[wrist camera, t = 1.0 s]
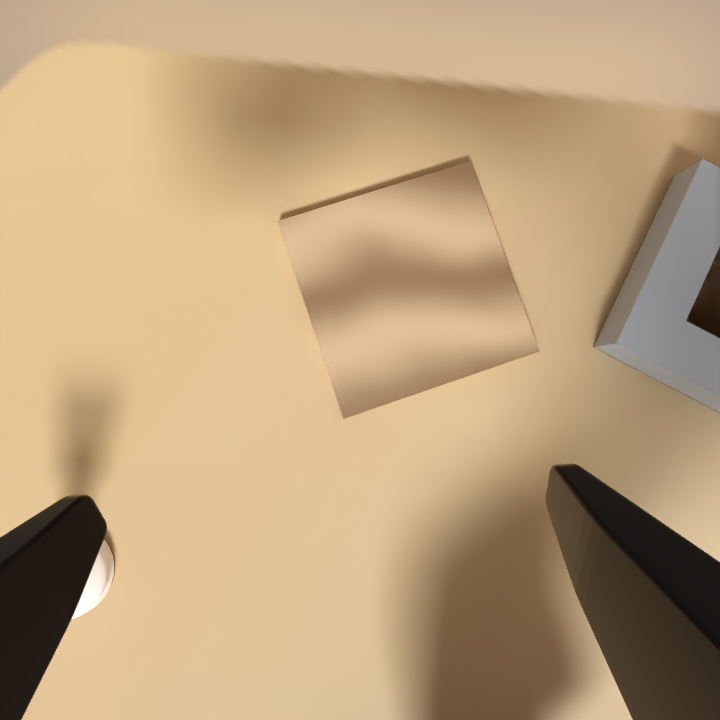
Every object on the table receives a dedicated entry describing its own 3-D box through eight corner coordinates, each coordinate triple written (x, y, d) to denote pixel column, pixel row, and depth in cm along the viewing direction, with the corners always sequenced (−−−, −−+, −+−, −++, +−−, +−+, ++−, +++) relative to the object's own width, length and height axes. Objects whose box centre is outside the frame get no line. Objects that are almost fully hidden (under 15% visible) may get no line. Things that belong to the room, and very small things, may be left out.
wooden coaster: (534, 352, 24) (539, 351, 23) (343, 417, 23) (343, 418, 23) (467, 166, 24) (470, 160, 24) (279, 225, 24) (277, 221, 23)
